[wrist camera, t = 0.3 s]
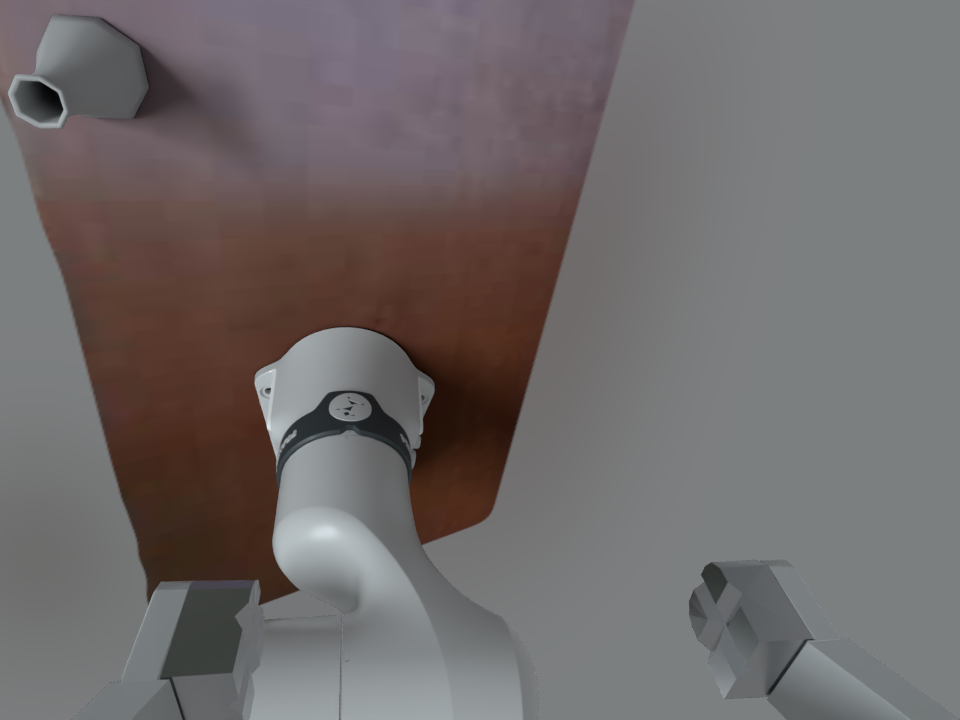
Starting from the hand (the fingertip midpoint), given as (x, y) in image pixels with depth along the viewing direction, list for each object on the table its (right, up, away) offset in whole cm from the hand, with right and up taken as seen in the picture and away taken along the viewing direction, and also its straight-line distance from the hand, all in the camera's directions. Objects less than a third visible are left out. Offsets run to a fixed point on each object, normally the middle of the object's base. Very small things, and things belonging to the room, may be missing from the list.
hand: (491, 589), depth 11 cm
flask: (-29, +26, +33) cm, 51 cm away
